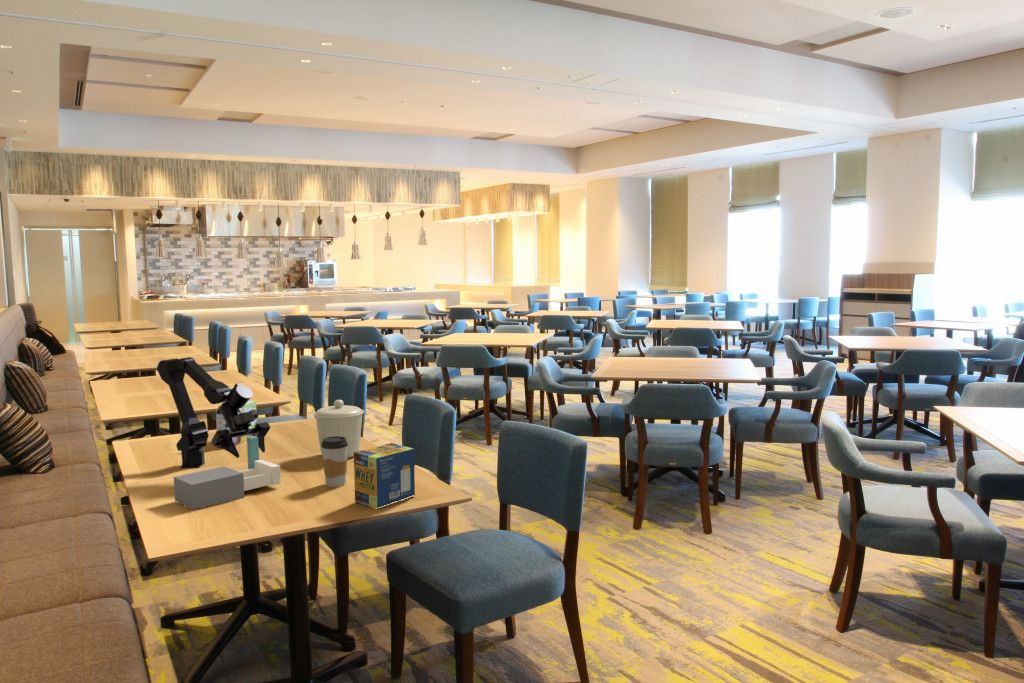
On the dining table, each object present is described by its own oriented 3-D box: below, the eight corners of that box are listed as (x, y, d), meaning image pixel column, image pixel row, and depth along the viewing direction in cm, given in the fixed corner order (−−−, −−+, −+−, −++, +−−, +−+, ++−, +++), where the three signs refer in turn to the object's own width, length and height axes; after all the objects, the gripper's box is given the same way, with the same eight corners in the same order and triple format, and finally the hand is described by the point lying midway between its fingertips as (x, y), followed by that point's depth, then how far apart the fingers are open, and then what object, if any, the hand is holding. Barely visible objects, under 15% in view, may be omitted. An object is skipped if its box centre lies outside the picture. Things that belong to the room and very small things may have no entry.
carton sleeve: (193, 510, 225) (191, 484, 224) (175, 501, 233) (173, 477, 232) (244, 497, 236) (243, 473, 235) (225, 489, 244) (224, 466, 243)
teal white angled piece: (229, 495, 233) (227, 453, 231) (205, 485, 244) (203, 445, 242) (280, 483, 245) (278, 443, 244) (255, 474, 256) (253, 435, 255)
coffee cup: (353, 481, 252) (352, 437, 250) (340, 489, 244) (338, 442, 242) (331, 479, 255) (330, 435, 253) (317, 486, 247) (315, 440, 245)
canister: (311, 453, 289) (309, 397, 287) (358, 447, 297) (357, 393, 294) (320, 464, 273) (318, 406, 271) (370, 459, 280) (368, 401, 278)
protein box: (354, 502, 231) (352, 452, 229) (393, 490, 242) (392, 442, 241) (376, 510, 224) (375, 458, 222) (416, 497, 236) (415, 447, 234)
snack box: (229, 448, 297) (227, 410, 295) (216, 448, 298) (214, 409, 296) (258, 436, 318) (256, 400, 316) (245, 435, 319) (244, 399, 317)
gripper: (214, 406, 249) (233, 445, 243) (266, 398, 263) (285, 435, 257) (203, 426, 255) (221, 465, 249) (255, 417, 269) (273, 454, 263)
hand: (251, 454), depth 254 cm, fingers open, 9 cm apart
